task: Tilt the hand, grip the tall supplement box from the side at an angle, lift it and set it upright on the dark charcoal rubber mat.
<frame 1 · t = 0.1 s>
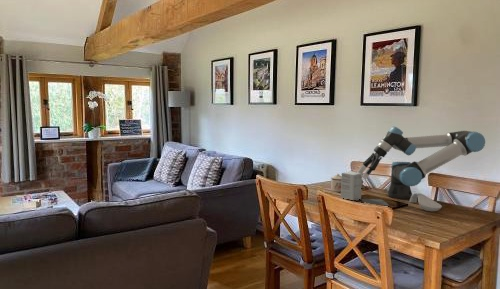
hand: (360, 176, 237), 15 cm above the table, tool tilted 35°, fingers open, 13 cm apart
supplement box: (350, 199, 241), on the table
spoon rest: (423, 208, 223), on the table
ceramic model: (356, 187, 278), on the table
charcoal mat: (374, 203, 230), on the table
teacup with lid: (339, 190, 265), on the table
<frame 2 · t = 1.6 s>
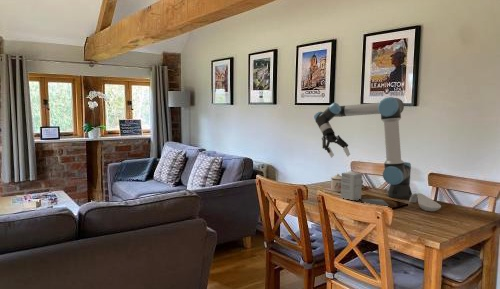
hand: (340, 155, 248), 26 cm above the table, tool tilted 45°, fingers open, 13 cm apart
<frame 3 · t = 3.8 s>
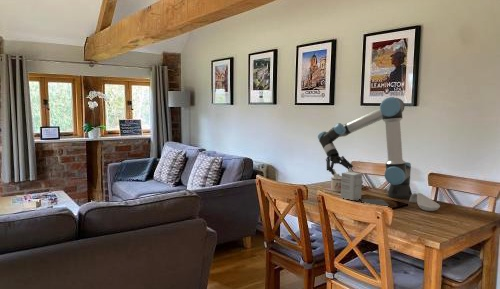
hand: (345, 177, 244), 13 cm above the table, tool tilted 45°, fingers open, 13 cm apart
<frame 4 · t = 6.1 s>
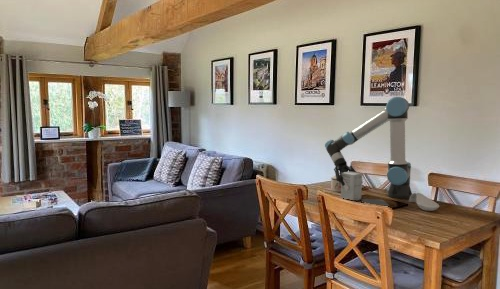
hand: (354, 188, 238), 7 cm above the table, tool tilted 45°, fingers closed on supplement box, 11 cm apart
supplement box: (350, 199, 241), on the table, touching gripper
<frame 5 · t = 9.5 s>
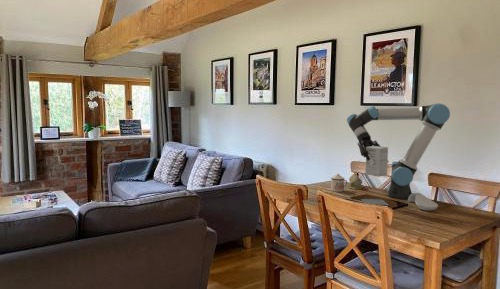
hand: (380, 163, 225), 25 cm above the table, tool tilted 45°, fingers closed on supplement box, 11 cm apart
supplement box: (376, 175, 228), point 18 cm above the table, touching gripper
when the fingers open (10 cm above the table, at t = 12.9 s): supplement box drops 1 cm, resting on charcoal mat.
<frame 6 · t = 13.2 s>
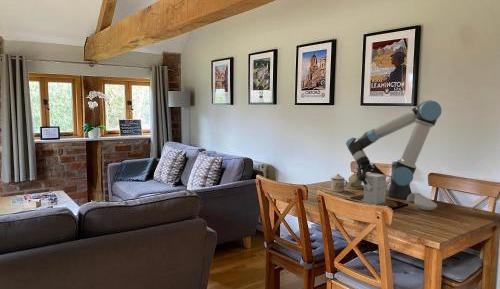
hand: (378, 187, 227), 10 cm above the table, tool tilted 45°, fingers open, 13 cm apart
supplement box: (374, 202, 229), point 1 cm above the table, touching charcoal mat
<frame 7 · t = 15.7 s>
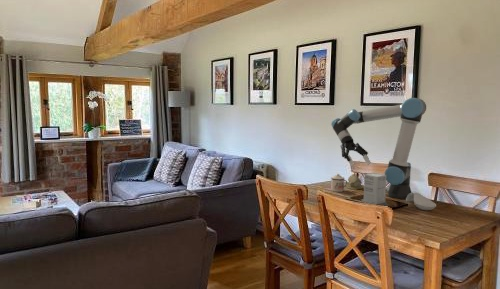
hand: (361, 164, 239), 22 cm above the table, tool tilted 45°, fingers open, 13 cm apart
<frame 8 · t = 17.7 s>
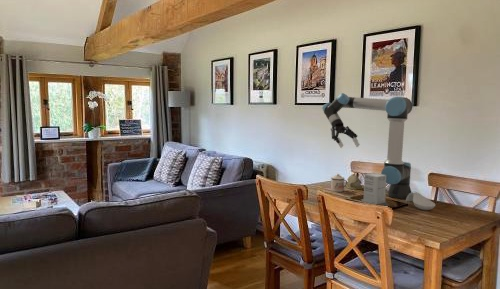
hand: (350, 146, 247), 33 cm above the table, tool tilted 45°, fingers open, 13 cm apart
at the end: supplement box inside the target area on the charcoal mat (0.4 cm from its centre), point 1.0 cm above the charcoal mat's base; supplement box tilted 0°; the gripper is holding nothing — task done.
